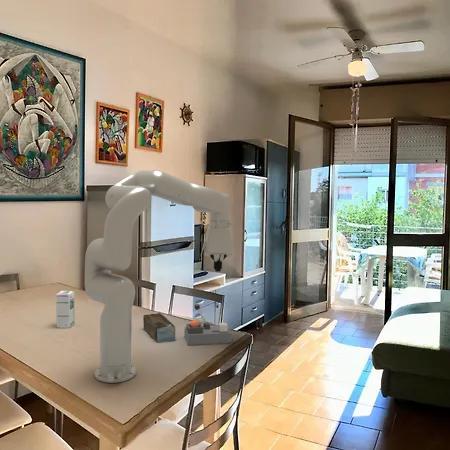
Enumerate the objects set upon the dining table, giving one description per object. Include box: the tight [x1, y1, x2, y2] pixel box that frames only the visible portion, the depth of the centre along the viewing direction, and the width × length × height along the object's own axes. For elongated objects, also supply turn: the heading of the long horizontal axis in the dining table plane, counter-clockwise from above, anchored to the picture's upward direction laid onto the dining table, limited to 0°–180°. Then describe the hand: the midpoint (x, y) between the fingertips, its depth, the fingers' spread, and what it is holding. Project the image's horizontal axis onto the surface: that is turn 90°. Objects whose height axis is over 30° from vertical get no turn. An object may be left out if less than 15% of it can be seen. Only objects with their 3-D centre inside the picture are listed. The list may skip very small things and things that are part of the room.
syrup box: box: [55, 290, 75, 329], centre depth 182 cm, size 6×6×14 cm
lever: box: [193, 303, 208, 324], centre depth 172 cm, size 2×2×10 cm
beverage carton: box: [142, 312, 176, 344], centre depth 176 cm, size 8×19×7 cm, turn 26°
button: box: [190, 319, 200, 328], centre depth 168 cm, size 3×3×3 cm
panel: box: [183, 321, 233, 346], centre depth 171 cm, size 10×17×6 cm, turn 104°
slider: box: [217, 322, 229, 332], centre depth 169 cm, size 3×3×2 cm
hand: (217, 270), depth 172 cm, fingers closed
